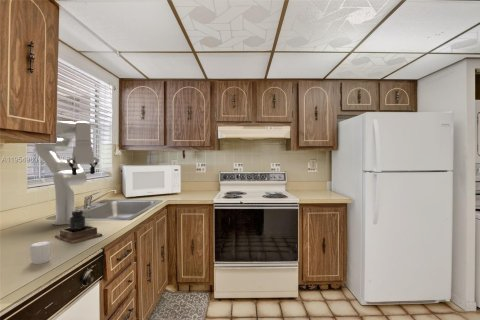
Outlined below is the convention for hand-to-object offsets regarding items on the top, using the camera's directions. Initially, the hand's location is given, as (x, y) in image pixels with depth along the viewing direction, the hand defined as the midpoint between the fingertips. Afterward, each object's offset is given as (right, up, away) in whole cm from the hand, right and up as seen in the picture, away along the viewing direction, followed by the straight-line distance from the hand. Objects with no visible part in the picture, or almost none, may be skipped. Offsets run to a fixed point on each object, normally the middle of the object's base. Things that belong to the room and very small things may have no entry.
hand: (83, 174), depth 151 cm
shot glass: (+10, -32, -46) cm, 57 cm away
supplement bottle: (+6, -30, -15) cm, 34 cm away
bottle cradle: (+6, -31, -15) cm, 35 cm away
